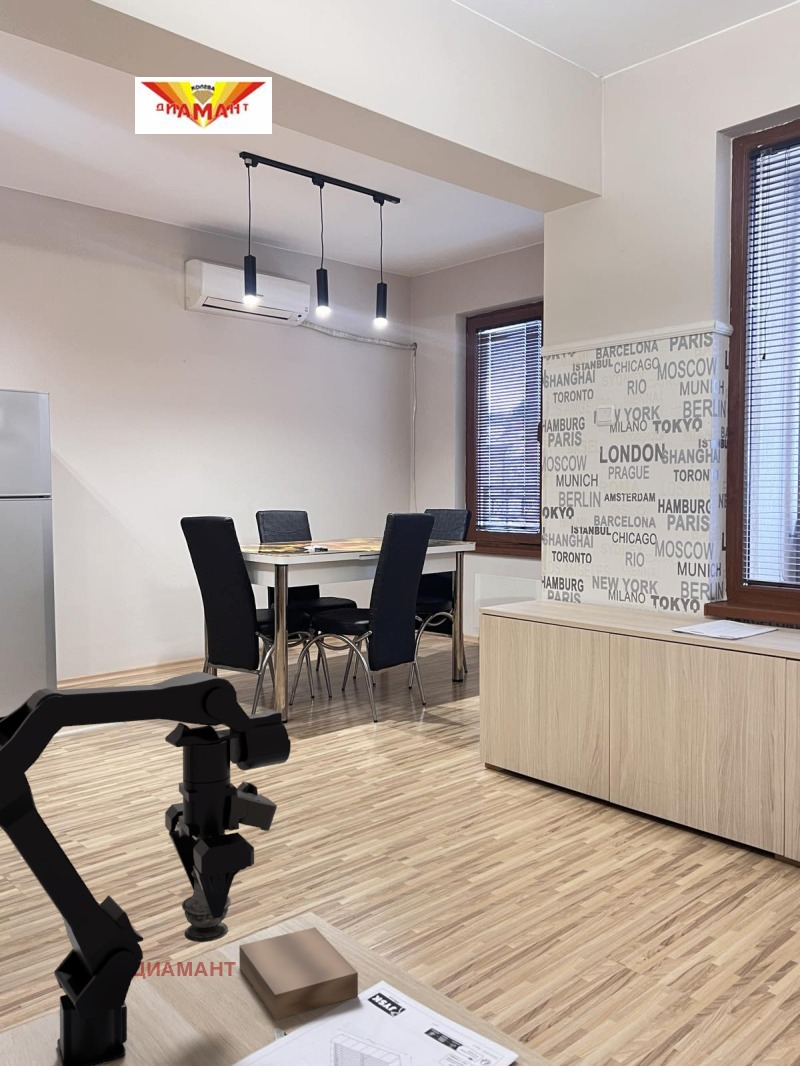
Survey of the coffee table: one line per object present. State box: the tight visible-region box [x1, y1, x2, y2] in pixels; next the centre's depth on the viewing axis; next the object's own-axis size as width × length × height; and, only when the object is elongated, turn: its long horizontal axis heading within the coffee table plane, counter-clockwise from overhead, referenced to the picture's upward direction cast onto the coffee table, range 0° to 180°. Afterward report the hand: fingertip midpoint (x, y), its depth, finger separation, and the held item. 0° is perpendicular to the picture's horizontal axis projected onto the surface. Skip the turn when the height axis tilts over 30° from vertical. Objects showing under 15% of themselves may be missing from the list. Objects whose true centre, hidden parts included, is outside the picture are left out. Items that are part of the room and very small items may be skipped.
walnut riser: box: [238, 927, 359, 1020], centre depth 112 cm, size 11×14×3 cm
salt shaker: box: [181, 870, 232, 943], centre depth 105 cm, size 6×6×12 cm
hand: (207, 903), depth 105 cm, fingers closed on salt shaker, 8 cm apart
